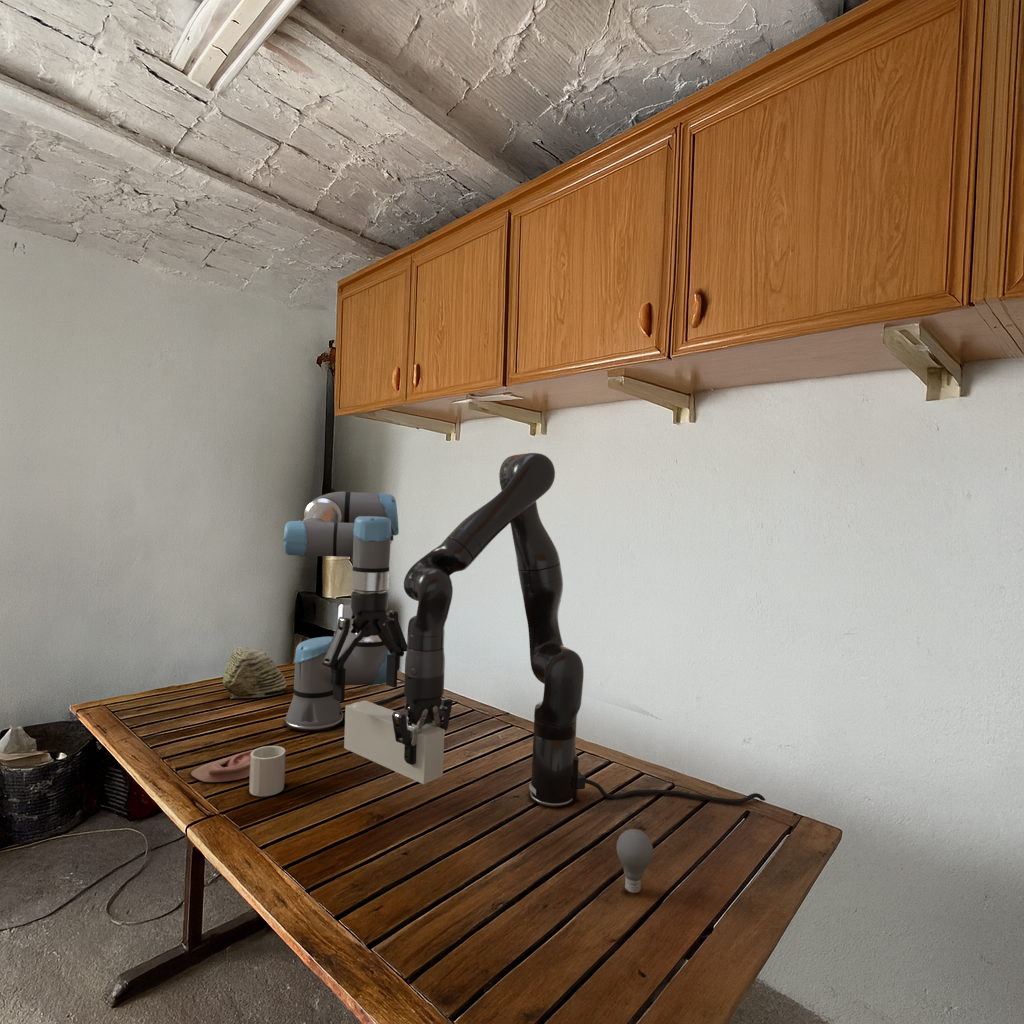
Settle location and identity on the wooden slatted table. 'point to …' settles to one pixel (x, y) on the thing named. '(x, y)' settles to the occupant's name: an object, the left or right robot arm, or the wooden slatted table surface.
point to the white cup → (267, 770)
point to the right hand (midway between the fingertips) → (421, 758)
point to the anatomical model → (225, 769)
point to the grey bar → (392, 742)
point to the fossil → (252, 674)
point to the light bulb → (634, 857)
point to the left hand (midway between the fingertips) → (366, 692)
